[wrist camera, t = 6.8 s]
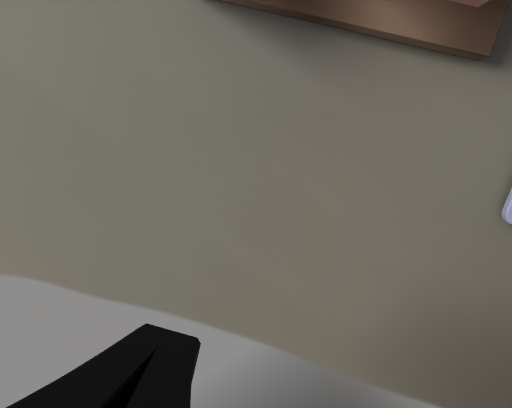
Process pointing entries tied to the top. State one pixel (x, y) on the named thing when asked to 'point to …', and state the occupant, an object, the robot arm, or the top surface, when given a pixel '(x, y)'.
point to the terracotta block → (471, 2)
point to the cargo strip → (403, 21)
